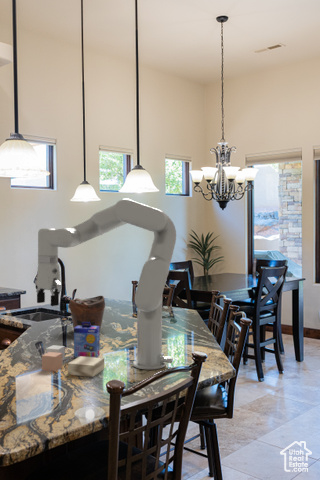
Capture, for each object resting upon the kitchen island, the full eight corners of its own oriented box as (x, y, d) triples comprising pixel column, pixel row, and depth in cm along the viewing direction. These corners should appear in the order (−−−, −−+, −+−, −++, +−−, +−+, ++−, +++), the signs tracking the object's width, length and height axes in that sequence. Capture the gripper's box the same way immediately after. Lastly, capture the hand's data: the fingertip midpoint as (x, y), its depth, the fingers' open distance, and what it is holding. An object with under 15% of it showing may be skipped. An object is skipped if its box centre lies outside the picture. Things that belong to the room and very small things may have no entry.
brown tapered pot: (60, 333, 242) (60, 297, 241) (84, 326, 260) (84, 293, 259) (89, 337, 234) (89, 300, 233) (111, 330, 251) (112, 295, 251)
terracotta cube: (62, 367, 183) (62, 353, 183) (55, 371, 178) (55, 356, 177) (49, 366, 184) (49, 352, 184) (41, 370, 179) (41, 355, 179)
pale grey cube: (64, 359, 194) (64, 346, 193) (58, 363, 188) (58, 349, 188) (52, 358, 195) (52, 345, 195) (45, 362, 190) (45, 348, 190)
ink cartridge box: (73, 357, 196) (73, 322, 196) (76, 354, 202) (76, 319, 202) (97, 358, 196) (97, 322, 195) (99, 354, 201) (99, 320, 201)
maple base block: (104, 368, 180) (104, 358, 180) (93, 376, 171) (93, 365, 171) (79, 366, 183) (79, 356, 183) (67, 374, 174) (67, 363, 174)
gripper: (68, 261, 183) (68, 305, 184) (44, 258, 195) (44, 300, 196) (51, 261, 178) (51, 307, 178) (27, 259, 190) (27, 302, 191)
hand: (47, 304), depth 187 cm, fingers open, 9 cm apart
